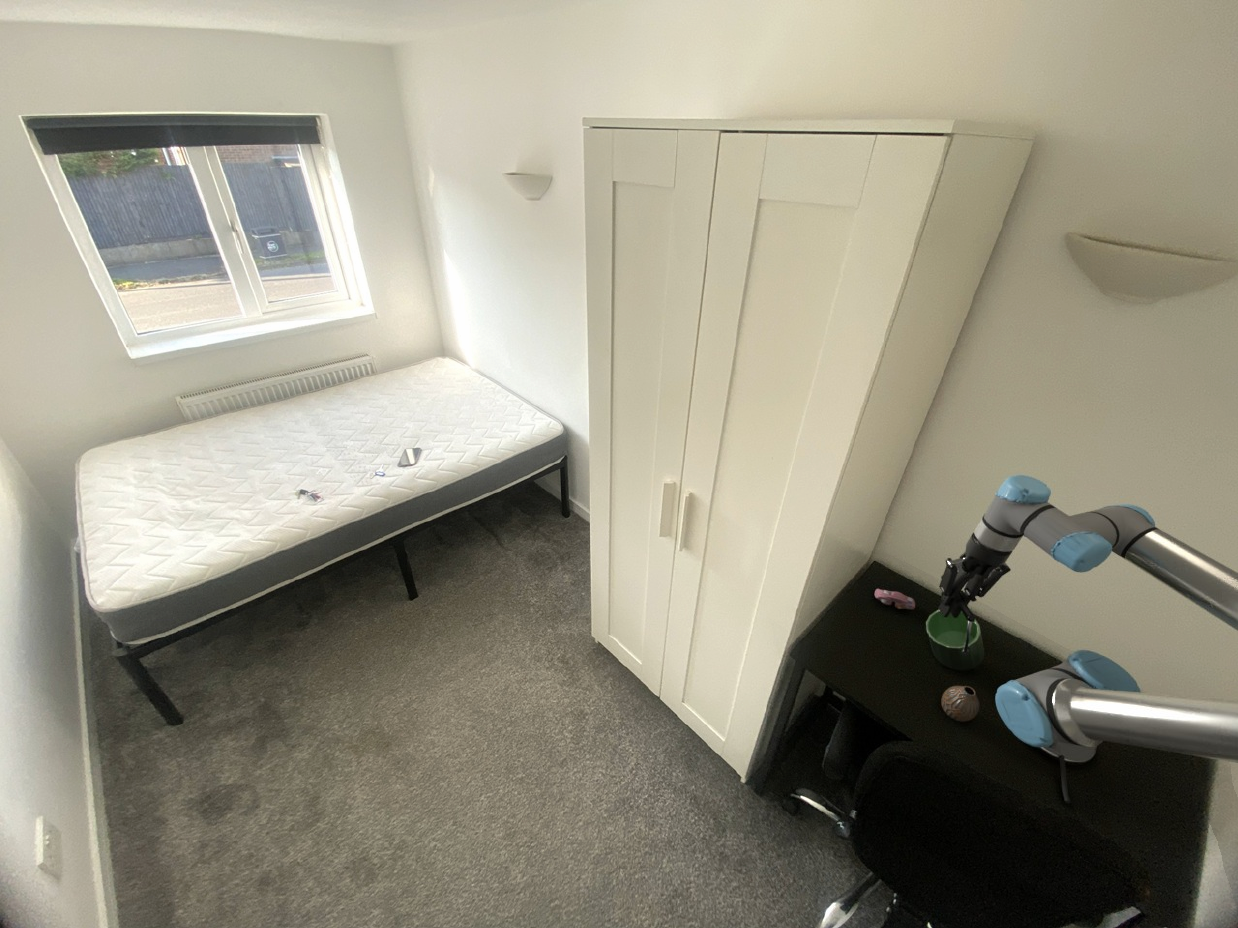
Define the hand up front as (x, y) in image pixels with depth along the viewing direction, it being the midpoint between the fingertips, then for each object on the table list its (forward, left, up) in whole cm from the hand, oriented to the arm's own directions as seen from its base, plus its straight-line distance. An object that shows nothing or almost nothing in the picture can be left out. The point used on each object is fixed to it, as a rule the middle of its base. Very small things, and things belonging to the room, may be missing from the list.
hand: (947, 612), depth 120 cm
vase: (-15, -1, -17) cm, 23 cm away
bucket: (0, -8, -14) cm, 16 cm away
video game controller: (+16, +1, -17) cm, 23 cm away
